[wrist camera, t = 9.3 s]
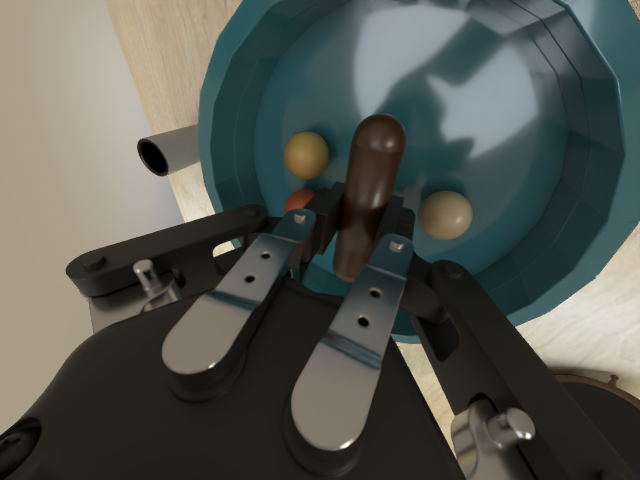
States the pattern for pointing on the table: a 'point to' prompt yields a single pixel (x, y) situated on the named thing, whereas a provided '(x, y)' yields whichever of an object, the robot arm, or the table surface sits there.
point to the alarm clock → (609, 413)
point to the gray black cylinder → (170, 150)
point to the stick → (367, 190)
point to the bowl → (444, 127)
